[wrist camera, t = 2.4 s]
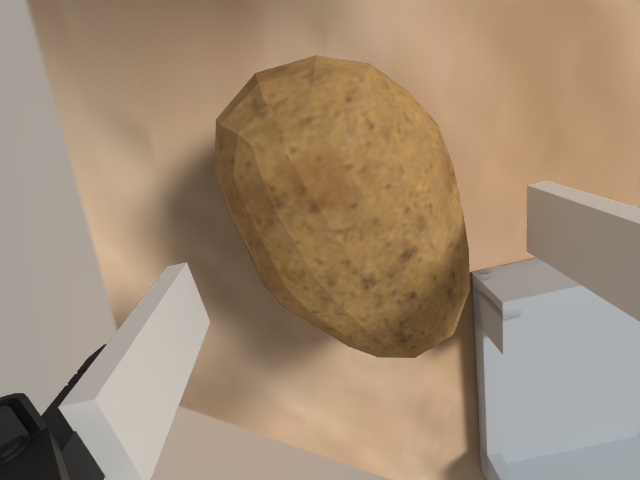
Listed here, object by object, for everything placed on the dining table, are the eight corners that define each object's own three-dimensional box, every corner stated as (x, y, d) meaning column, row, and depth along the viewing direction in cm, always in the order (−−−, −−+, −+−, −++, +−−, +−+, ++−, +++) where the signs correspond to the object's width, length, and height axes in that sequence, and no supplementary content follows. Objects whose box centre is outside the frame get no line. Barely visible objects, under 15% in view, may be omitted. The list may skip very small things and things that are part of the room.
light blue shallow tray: (471, 272, 22) (502, 302, 19) (727, 215, 22) (804, 236, 18) (480, 470, 29) (504, 517, 26) (672, 430, 29) (720, 472, 26)
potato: (331, 326, 23) (350, 437, 15) (189, 133, 18) (114, 160, 10) (469, 250, 21) (562, 332, 14) (357, 18, 16) (409, -47, 9)
